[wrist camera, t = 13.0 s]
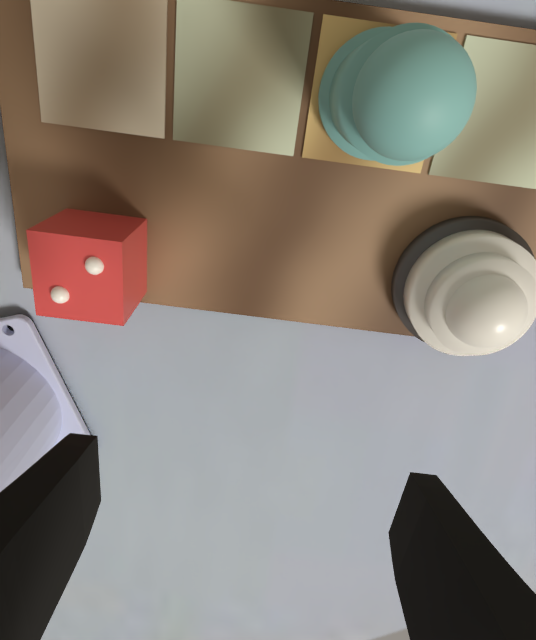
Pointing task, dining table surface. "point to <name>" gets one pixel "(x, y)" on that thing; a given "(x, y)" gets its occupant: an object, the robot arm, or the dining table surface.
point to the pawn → (397, 93)
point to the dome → (472, 293)
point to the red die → (88, 265)
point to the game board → (253, 150)
